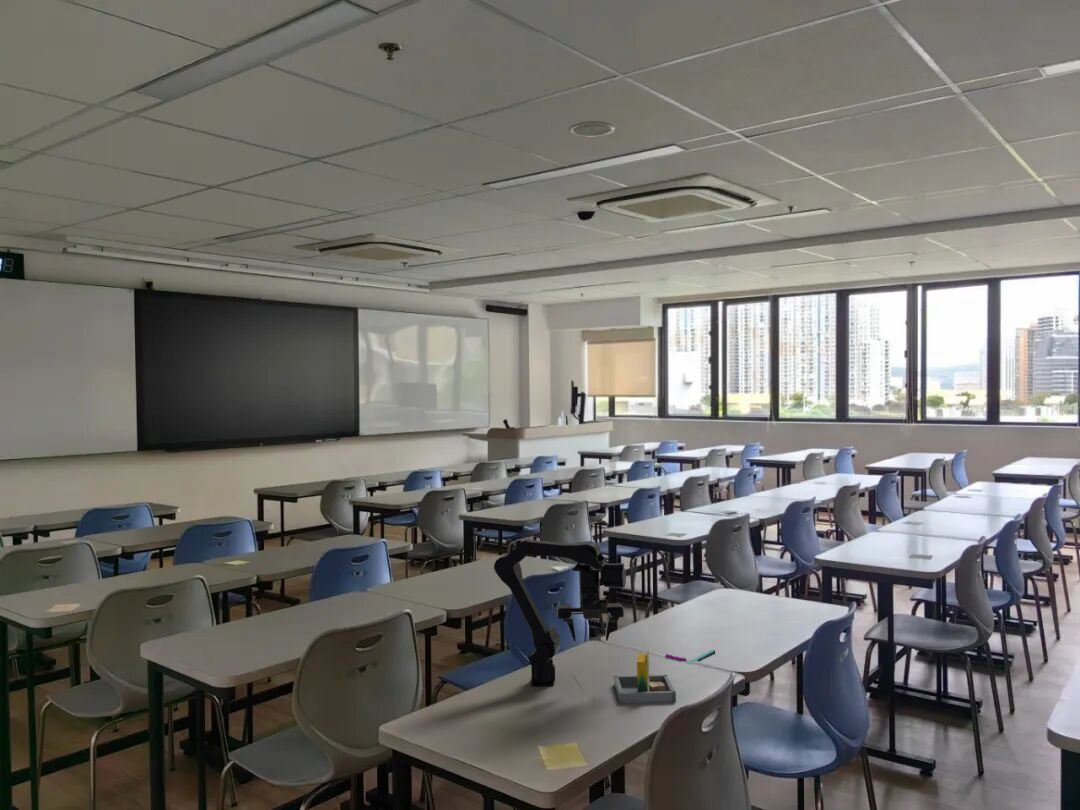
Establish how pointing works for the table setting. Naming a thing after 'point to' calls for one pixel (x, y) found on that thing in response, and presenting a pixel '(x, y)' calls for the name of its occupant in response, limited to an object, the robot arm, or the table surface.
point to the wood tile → (657, 686)
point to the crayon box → (643, 672)
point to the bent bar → (690, 660)
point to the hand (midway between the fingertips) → (590, 640)
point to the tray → (630, 694)
